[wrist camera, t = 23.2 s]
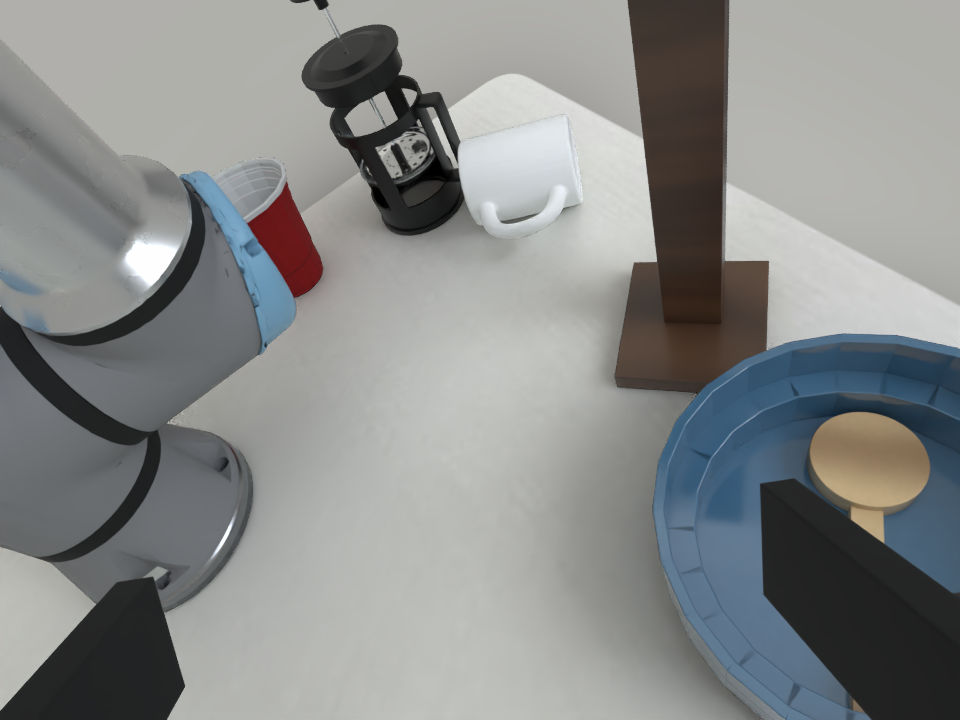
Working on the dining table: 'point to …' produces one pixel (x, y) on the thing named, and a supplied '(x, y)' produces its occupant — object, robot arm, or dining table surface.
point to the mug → (520, 176)
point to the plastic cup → (273, 219)
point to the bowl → (782, 455)
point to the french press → (398, 147)
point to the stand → (687, 209)
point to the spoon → (867, 470)
